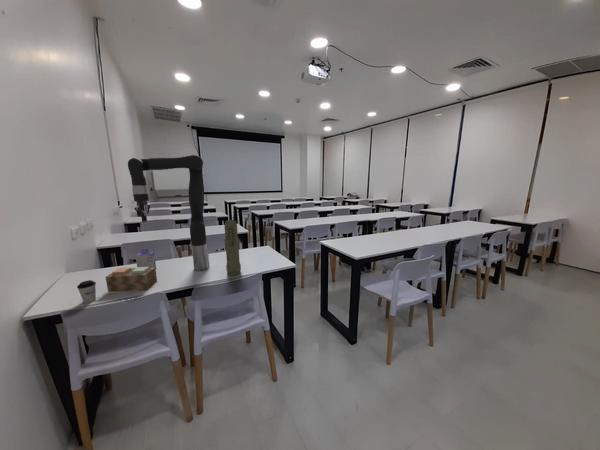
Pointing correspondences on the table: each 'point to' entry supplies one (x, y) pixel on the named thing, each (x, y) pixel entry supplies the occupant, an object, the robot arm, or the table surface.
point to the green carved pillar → (232, 248)
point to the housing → (131, 281)
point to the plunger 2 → (140, 270)
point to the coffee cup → (87, 291)
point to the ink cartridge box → (145, 259)
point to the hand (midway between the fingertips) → (144, 221)
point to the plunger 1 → (121, 271)
